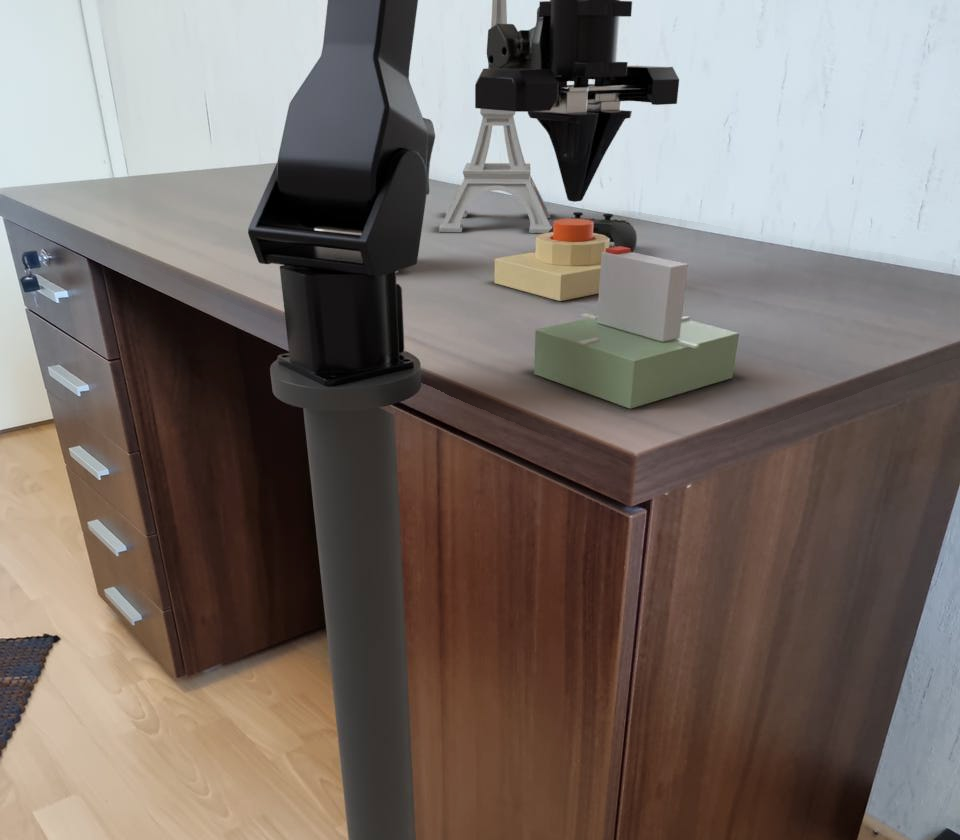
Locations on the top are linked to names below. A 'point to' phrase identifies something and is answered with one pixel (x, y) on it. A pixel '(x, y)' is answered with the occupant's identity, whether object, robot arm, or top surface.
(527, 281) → the switch
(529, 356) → the top surface
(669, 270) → the white square block
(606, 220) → the gaming controller
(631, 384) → the panel
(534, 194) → the eiffel tower
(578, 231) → the button
